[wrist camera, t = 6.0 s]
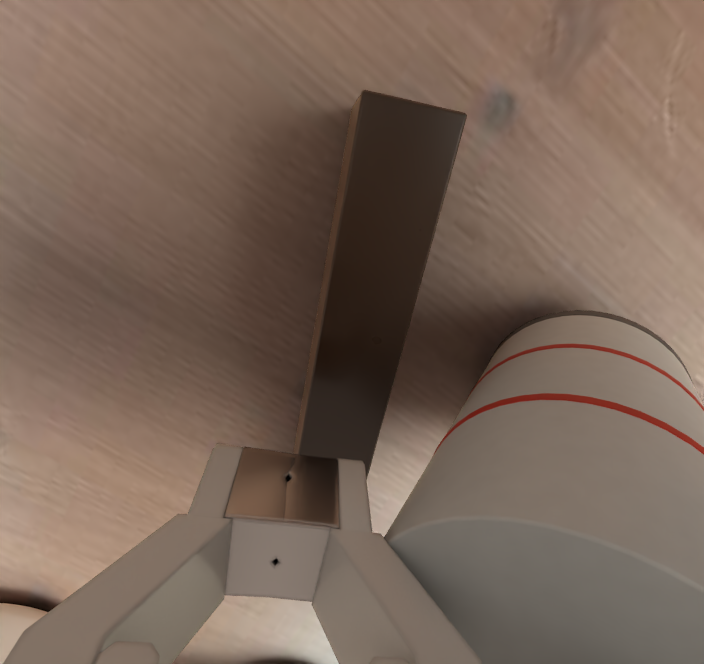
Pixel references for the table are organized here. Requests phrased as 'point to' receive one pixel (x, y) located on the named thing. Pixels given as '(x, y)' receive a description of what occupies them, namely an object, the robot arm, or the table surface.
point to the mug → (15, 625)
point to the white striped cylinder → (568, 501)
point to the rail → (374, 268)
